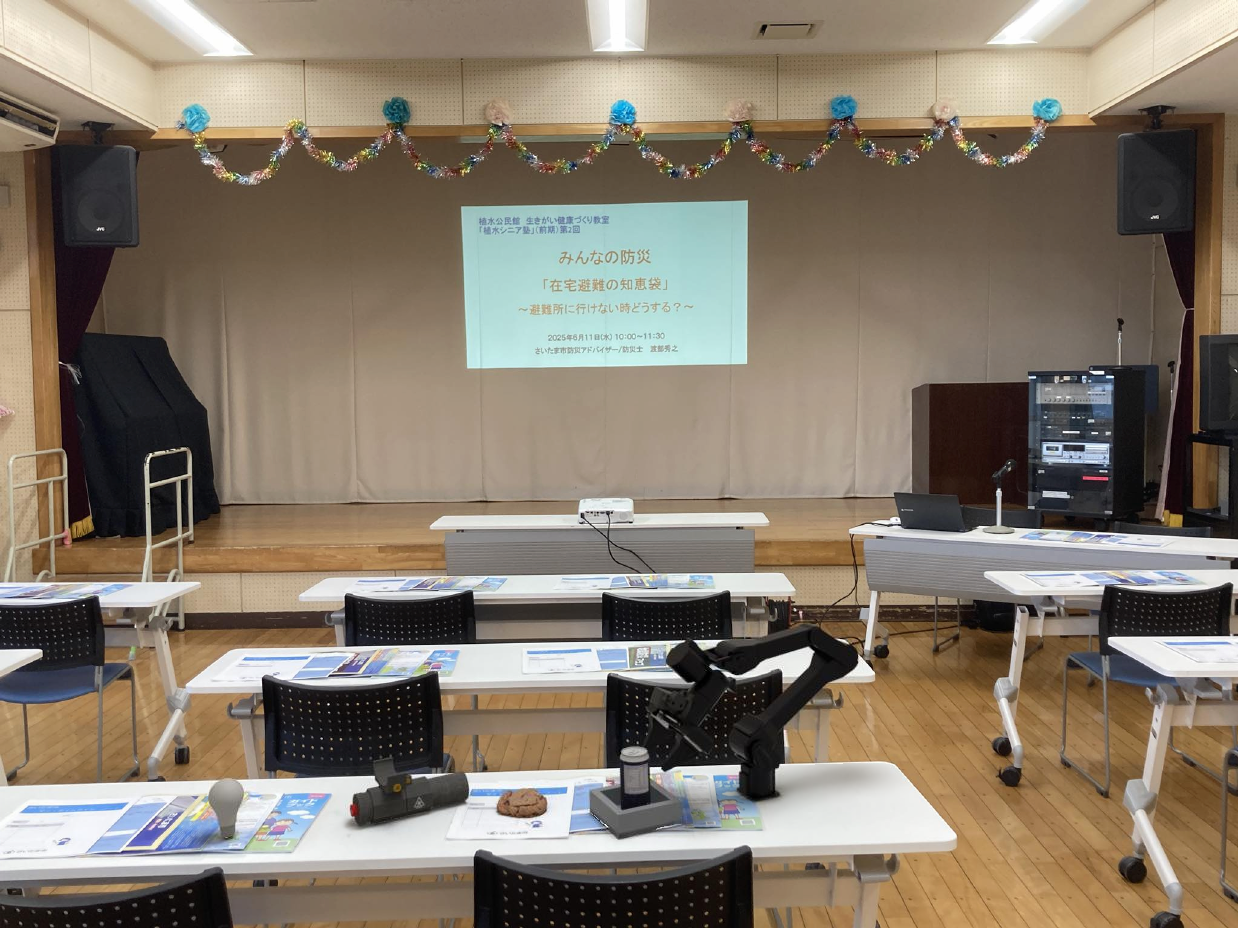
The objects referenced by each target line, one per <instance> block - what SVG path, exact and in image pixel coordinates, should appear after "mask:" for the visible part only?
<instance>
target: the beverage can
mask: <svg viewBox="0 0 1238 928" xmlns="http://www.w3.org/2000/svg"><path fill="white" fill-rule="evenodd" d="M620 752H621V754H620V756H619V781H620V782H619V784H620V794H621V810H626V809H631V808H635V807H640V806H645V805H649V804H651V794H650V778H651V763H650V761H651V760H650V759H651V758H650V755H649V753H647V749H645V748H643V747H642V746H628V747H626V748H622V749H621V751H620Z"/></svg>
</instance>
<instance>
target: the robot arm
mask: <svg viewBox="0 0 1238 928" xmlns="http://www.w3.org/2000/svg"><path fill="white" fill-rule="evenodd" d="M805 648H809V649H810V650H812V651H813V653H812V656H811V661H810V663H809V666H808V667H807V668H806V669H805V670H804V671H803V672H802V673H801V674H800V675H799V676H798V677H797V678H796V679H795V680H794V681H793V682H792V683H791V684H790V685H789V686H787V688H786V689H785V690H783V692H782V693H781V694H779V696H778V697H777V698H775V700H773V702H771V704H770V705H769V706H768V707H766V708H765V709H764V710H763V711H762V712H761V713H760V714H756V715H753V714H751V713H750V712H749V711H748V712H746V713H745V714H743V716H742V717H741V718H740V720H738V721H737V722H735V723H733V724H732V726H733V728H732V730H731V731H730V732H729V734H728V736H729V737H728V738H729V739H728V743H729V746H730V748H731V750H732V751H733V752H735V755H736V757H737V759H739V760H741V761H742V762H741V763H740V764H739V765H740V770H739V772H738V787H736V792H738V793H739V794H741V795H743V796H744V797H746V798H747V799H749V800H750V801H752V802H758V801H762V800H766V799H770V798H771V799H773V798H774V797H779V796H781V792H780V791H778V790H777V789H776V770H777V769H779V768H780V765H781V761H782V757H781V756H780V755H779V754H778V753H777V752H775V751H774V750H773V749H774V748H775V745H776V744H777V740H778V736H779V733H780V732H781V730H782V729H783V728H784V727H785V726H786V725H787V724H788V723H789V722H790V721H792V719H793V718H794V717H795V716H796V715H797V714H798V713H799V712H800V711H801V710H802V709H803V708H804V707H805V706H807V704H809V702H811V700H812V699H813V698H814V697H815V696H816V695H817V694H818V693H819V692H820V691H821V690H823V688H825V686H826V685H828V684H829V683H832V682H834V681H838V680H840V679H843V678H844V677H846V676H847V675H849V674H850V673H851V672H853V671H854V670H855V669H856V668H857V666H858V665H859V651H858V649H857V648H856V647H855V646H854V645H853V644H850V643H847V642H844V641H842V640H839V639H836V638H835V637H834V636H833V635H831V634H829V633H827V632H826V631H825V630H823V629H822V628H821V627H820V626H817V625H815V624H812V623H810V622H804V623H800V624H799V625H798V626H794V627H791V628H788V629H784V630H781V631H776V632H773V633H771V634H767V635H763V636H760V637H756V638H750V639H748V638H747V639H744V638H743V639H742V638H736V639H735V638H733V639H724V640H721V641H719V642H718V643H716V645H715V646H713V647H710V648H706V649H703V650H702V649H701V648H700V647H699V645H698V644H697V642H695V640H694V639H692V638H689V637H687V638H686V639H685V640H684V641H682V642H680V643H678V644H677V645H675V646H674V647H672V648H671V649H669V651H668V653H667V655H666V658H665V664H666V666H668V667H669V668H670V669H671V670H672V671H673V672H674V673H675V674H677V676H678V677H679V678H681V680H683V681H684V682H685V683H686V684H691V683H692V684H691V686H690V687H689V689H687V690H685V689H681V690H680V691H679V692H678V691H676V690H672V691H670V690H667V689H664V688H661V687H658V686H654V689H653V691H652V694H651V697H650V700H649V705H648V706H647V707H646V709H645V710H646V711H647V713H646V716H647V717H648V722H649V727H648V731H647V733H646V735H645V738H644V741H643V744H642V746H641V747H643V748H645V749H647V753H648V754H650V753H651V752H653V750H655V749H656V748H657V747H659V746H660V745H661V744H662V743H664V742H665V741H666V740H667V739H669V738H670V737H671V736H672V735H673V731H675V730H677V731H678V732H680V733H681V734H680V733H678V732H675V744H674V746H673V747H672V749H671V750H670V751H669V754H668V755H667V757H666V758H665V760H664V761H663V763H662V765H661V767H660V769H661V771H662V772H664V773H666V772H668V771H670V770H673V769H675V768H676V767H679V766H680V765H682V764H683V763H687V762H688V761H691V760H692V759H695V758H697V757H699V756H700V757H703V756H704V753H705V755H707V756H708V755H710V753H711V752H712V751H713V749H714V748H715V740H714V739H713V738H712V737H711V736H710V735H708V734H707V732H706V731H704V730H703V729H702V728H701V727H700V725H701V724H702V723H703V721H704V720H705V719H706V717H707V716H708V717H710V718H713V715H714V714H715V712H714V711H713V708H714V707H715V705H716V704H717V703H718V701H719V700H720V698H721V697H722V696H723V695H724V694H725V692H726V691H729V692H731V693H733V694H737V693H738V688H737V679H736V678H734V677H732V676H727V675H726V674H724V672H723V671H725V672H727V673H729V674H731V675H733V676H742V675H745V674H747V673H748V672H750V671H752V670H754V669H756V668H757V667H758V666H759V665H760V664H761V663H763V662H764V661H766V660H770V659H773V658H776V657H779V656H783V655H786V654H790V653H791V652H796V651H799V650H802V649H805ZM711 666H713V667H715V668H718V669H713V668H711ZM671 731H672V732H671Z"/></svg>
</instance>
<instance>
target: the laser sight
mask: <svg viewBox="0 0 1238 928" xmlns="http://www.w3.org/2000/svg"><path fill="white" fill-rule="evenodd" d="M393 760H394V759H393V757H392V756H391V757H386V758H381V759H377V760H373V761H372V766H373V774H374V780H375V782H376V784H378V786H373V787H368V788H366V791H364V792H363V791H362V792H356V793H354V794H353V795H352V804H350V805H349V811H350V816H351V817H352V818H354V821H355V823H356V825H357V826H364V825H366V824H369V823H371V824H372V825H376V824H381V823H385V822H389V821H394V820H397V819H396V818H398V819H401V817H402V818H406V817H410V816H414V815H418V814H423V813H427V812H431V811H432V809H434V808H437V807H441V806H445V805H450V804H454V803H458V802H463V801H468V799H469V796H470V785H469V784H470V783H469V781H468V777H467V775H466V772H464V771H463V770H462V771H458V772H452V773H448V774H443V775H438V776H433V777H430V778H429V777H428V778H427V776H425V775H424V776H420V777H414V778H413V776H412V774H410V772H408V771H404V772H400V773H397V772H396V770H395V766H394V761H393ZM409 815H410V816H409ZM384 821H385V822H384ZM380 822H381V823H380ZM375 823H376V824H375Z"/></svg>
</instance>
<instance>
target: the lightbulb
mask: <svg viewBox="0 0 1238 928" xmlns="http://www.w3.org/2000/svg"><path fill="white" fill-rule="evenodd" d="M244 797H245V790H244V787H243V784H241V782H239V781H238V780H237V779H234V778H230V777H225V778H222V779H220V780H218V781H216V782H214V784H213V785H212V786H211V787H210V790H209V792H208V796H207V799H208V804H209V806H210V808H211V809H212V810H213V812H214V814H215V815H216V817H217V824H218V826H219V831H220V833H219V834H220V837H223V838H225V837H230V836H231V837H232V836H234V835H235V833H236V823H237V821H238V820H237V819H238V818H237V817H238V812H239V809H240V807H241V805H242V802H243V800H244ZM231 837H230V838H231Z"/></svg>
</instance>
